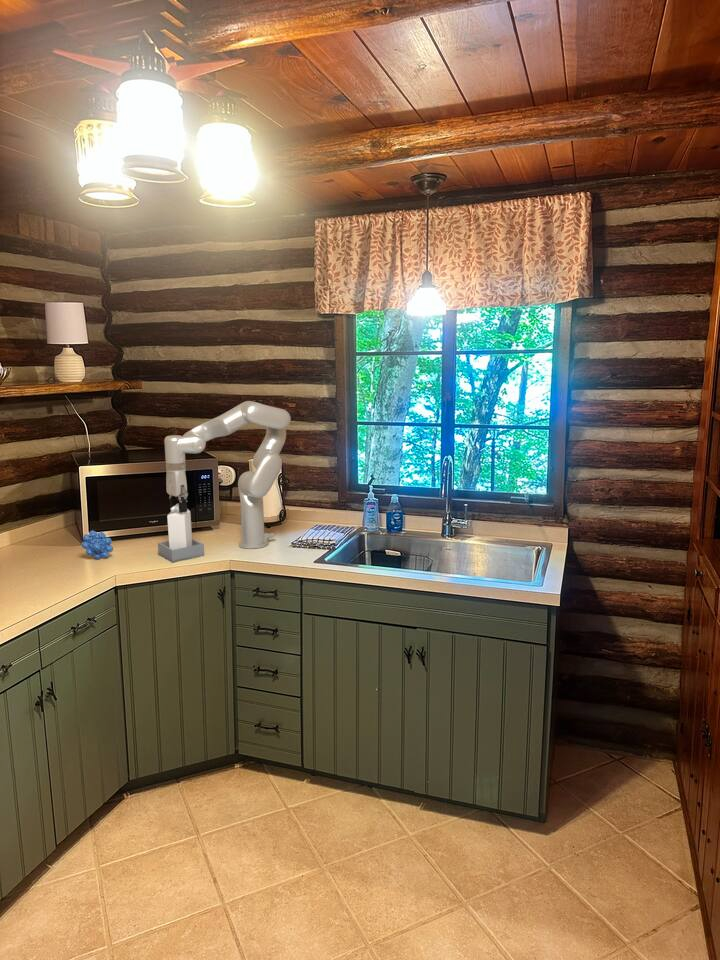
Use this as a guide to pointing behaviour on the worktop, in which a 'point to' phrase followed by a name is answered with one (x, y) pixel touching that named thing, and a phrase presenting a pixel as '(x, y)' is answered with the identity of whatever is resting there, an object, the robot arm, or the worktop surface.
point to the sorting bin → (181, 551)
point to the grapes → (97, 544)
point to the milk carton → (179, 528)
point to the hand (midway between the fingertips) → (178, 509)
